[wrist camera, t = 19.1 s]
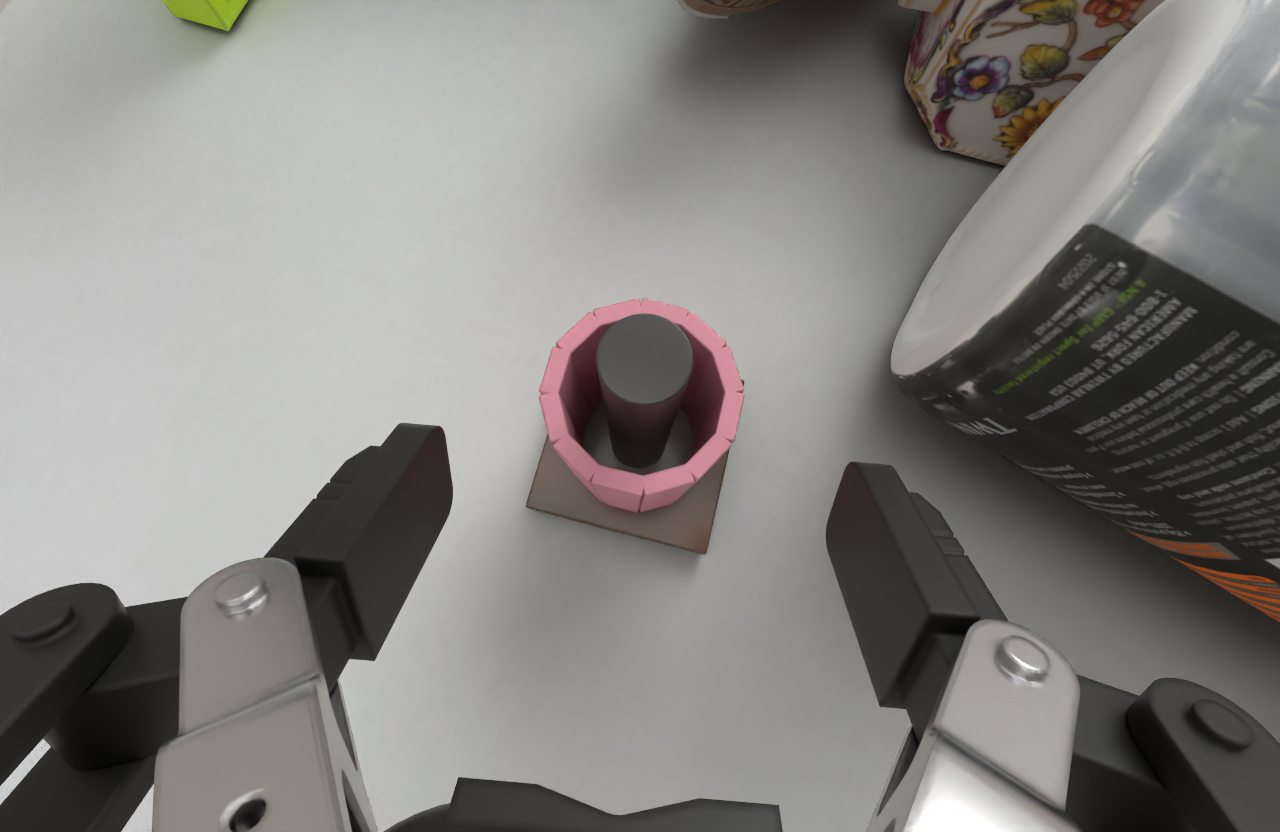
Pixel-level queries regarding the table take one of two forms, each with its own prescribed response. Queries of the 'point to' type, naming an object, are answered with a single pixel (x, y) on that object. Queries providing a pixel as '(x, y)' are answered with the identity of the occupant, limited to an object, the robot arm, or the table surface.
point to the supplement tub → (1132, 296)
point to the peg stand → (637, 438)
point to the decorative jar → (1006, 65)
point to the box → (207, 11)
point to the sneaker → (723, 7)
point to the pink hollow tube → (578, 394)
